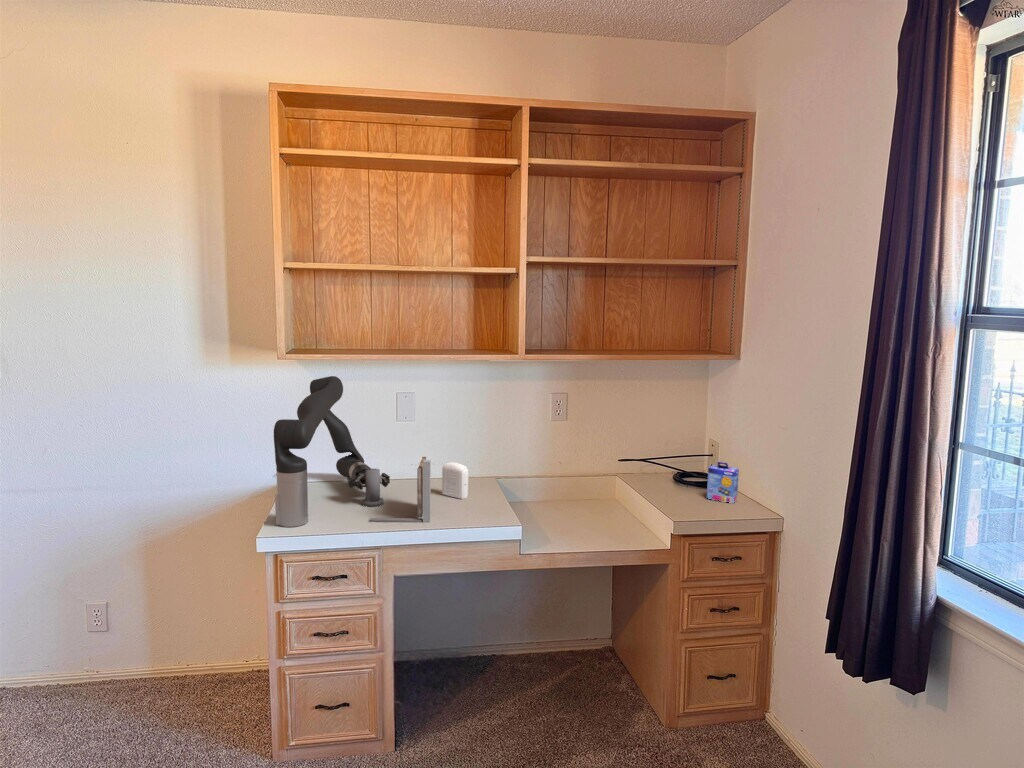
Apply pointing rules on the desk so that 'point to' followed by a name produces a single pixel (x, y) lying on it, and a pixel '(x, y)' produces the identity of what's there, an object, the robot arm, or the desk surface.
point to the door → (420, 488)
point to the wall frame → (425, 499)
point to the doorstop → (372, 488)
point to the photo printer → (455, 480)
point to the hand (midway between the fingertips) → (373, 485)
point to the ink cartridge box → (722, 483)
